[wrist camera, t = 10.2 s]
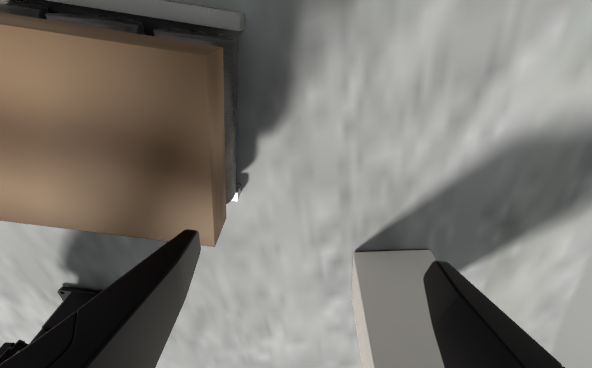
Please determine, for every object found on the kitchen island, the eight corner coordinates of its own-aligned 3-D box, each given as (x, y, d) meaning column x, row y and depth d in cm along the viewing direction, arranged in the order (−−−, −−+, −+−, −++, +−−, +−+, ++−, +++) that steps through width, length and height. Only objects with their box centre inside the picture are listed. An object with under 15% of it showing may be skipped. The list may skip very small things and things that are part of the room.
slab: (226, 217, 17) (214, 246, 15) (2, 189, 16) (-42, 215, 14) (223, 47, 11) (204, 55, 9) (-116, -6, 11) (-216, -10, 9)
